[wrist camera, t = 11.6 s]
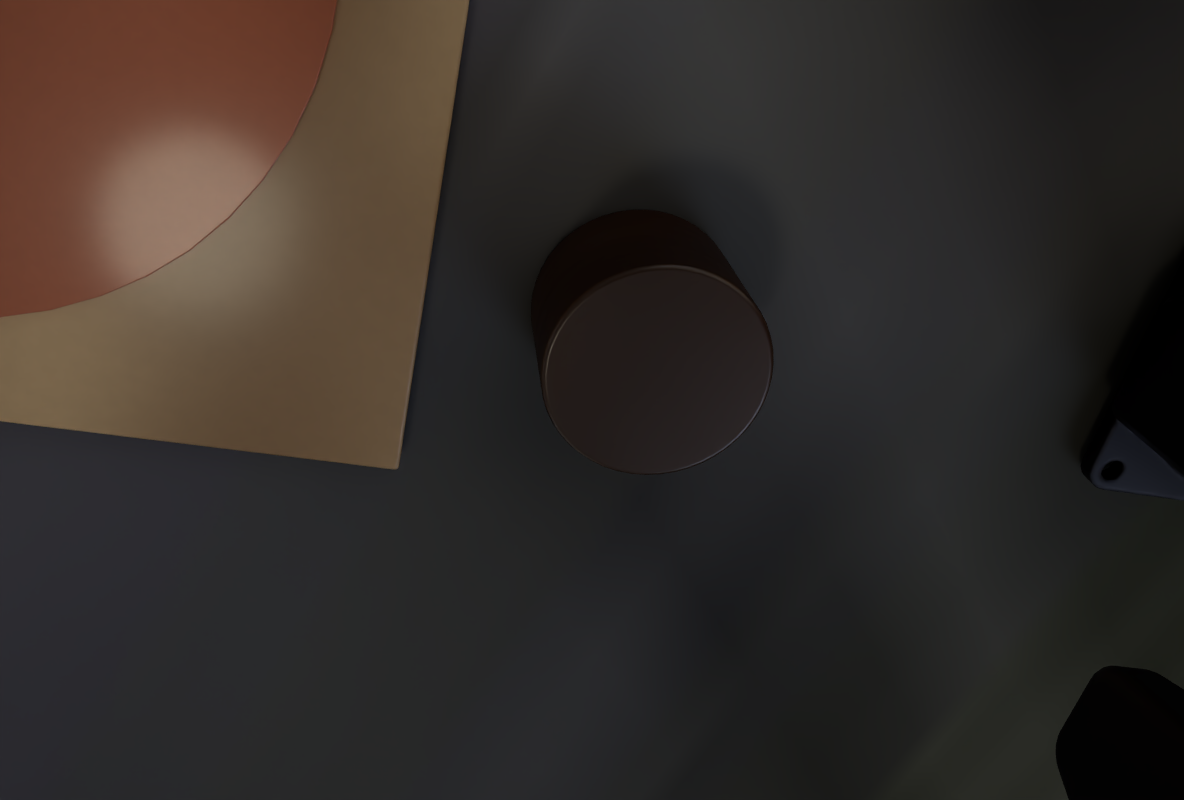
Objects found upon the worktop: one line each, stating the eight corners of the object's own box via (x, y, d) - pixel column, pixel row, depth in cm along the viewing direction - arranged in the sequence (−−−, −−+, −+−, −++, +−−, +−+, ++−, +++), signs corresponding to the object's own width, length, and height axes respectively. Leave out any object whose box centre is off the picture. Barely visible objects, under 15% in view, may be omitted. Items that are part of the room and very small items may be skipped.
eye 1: (758, 228, 19) (805, 286, 17) (703, 410, 21) (737, 489, 18) (553, 190, 18) (567, 245, 16) (513, 383, 20) (521, 462, 18)
